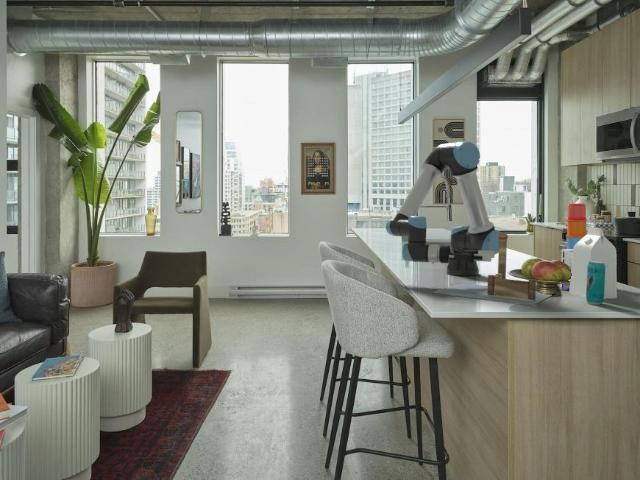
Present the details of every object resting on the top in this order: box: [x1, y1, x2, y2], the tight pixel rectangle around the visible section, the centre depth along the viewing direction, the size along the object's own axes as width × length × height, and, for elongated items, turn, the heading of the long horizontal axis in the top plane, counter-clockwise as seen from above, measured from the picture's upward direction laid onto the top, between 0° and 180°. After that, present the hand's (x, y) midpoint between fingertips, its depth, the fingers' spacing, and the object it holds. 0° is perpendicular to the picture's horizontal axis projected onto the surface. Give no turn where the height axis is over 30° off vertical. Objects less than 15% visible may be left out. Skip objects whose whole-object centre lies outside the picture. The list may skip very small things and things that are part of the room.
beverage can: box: [585, 261, 606, 306], centre depth 195 cm, size 6×6×15 cm
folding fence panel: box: [494, 232, 509, 293], centre depth 216 cm, size 16×4×22 cm, turn 148°
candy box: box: [560, 248, 573, 291], centre depth 222 cm, size 14×6×16 cm, turn 71°
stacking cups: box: [565, 203, 588, 249], centre depth 238 cm, size 10×10×35 cm
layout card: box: [432, 282, 552, 306], centre depth 214 cm, size 28×38×1 cm
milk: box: [568, 226, 618, 300], centre depth 209 cm, size 12×12×26 cm
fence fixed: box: [487, 274, 537, 300], centre depth 203 cm, size 2×18×7 cm, turn 52°
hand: (493, 256), depth 222 cm, fingers open, 13 cm apart
